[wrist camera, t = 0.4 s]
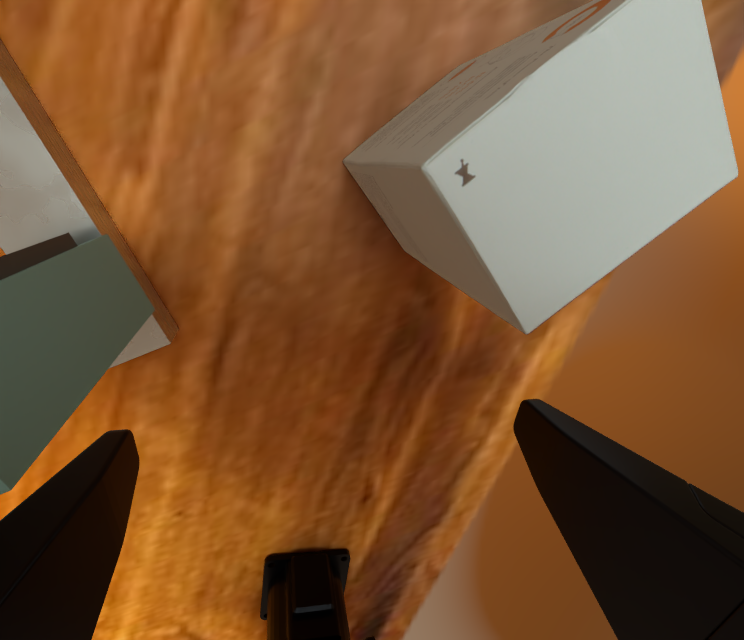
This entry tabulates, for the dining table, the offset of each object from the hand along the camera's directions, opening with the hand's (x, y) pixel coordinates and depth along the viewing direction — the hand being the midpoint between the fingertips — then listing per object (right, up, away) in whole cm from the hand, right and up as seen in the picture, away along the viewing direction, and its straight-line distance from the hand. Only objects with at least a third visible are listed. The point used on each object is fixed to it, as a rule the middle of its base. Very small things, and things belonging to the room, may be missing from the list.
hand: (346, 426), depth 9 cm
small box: (+4, +11, +13) cm, 18 cm away
